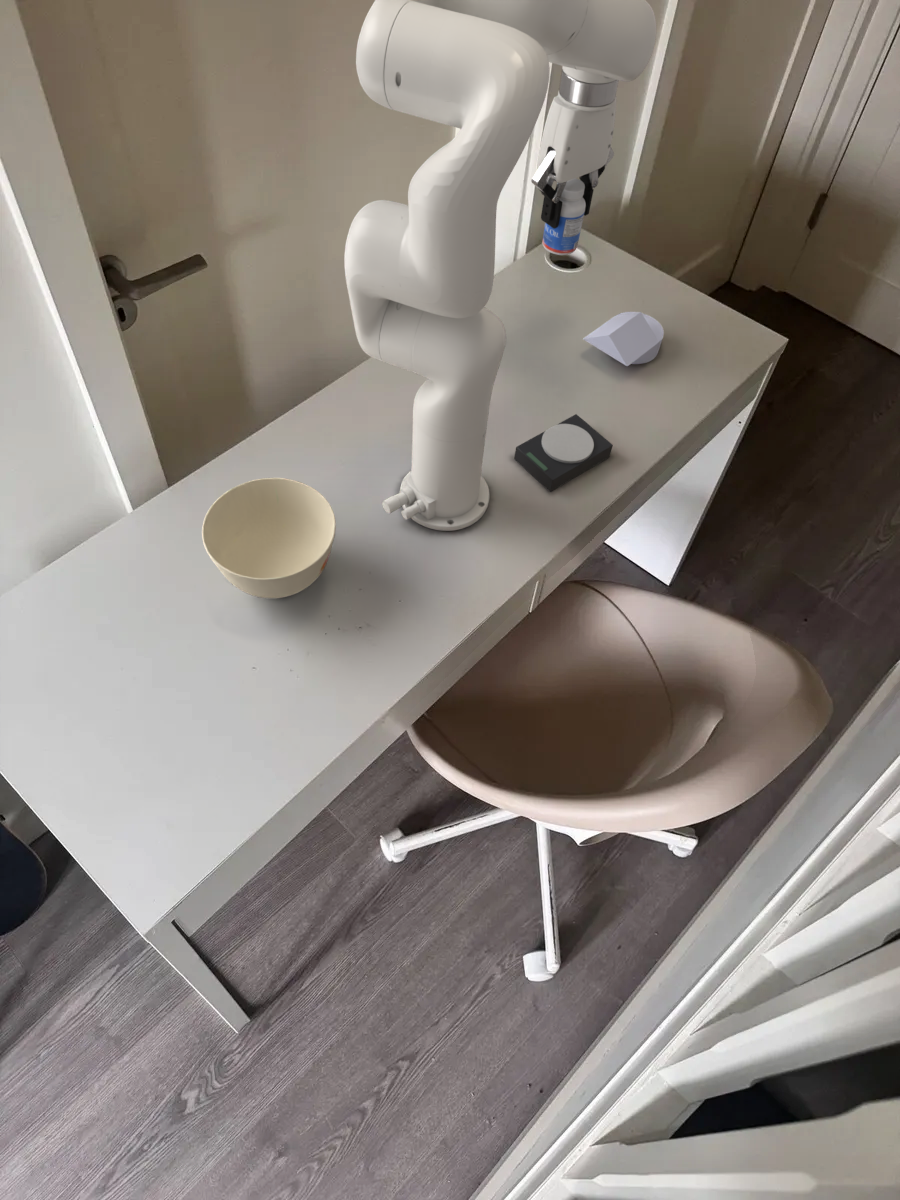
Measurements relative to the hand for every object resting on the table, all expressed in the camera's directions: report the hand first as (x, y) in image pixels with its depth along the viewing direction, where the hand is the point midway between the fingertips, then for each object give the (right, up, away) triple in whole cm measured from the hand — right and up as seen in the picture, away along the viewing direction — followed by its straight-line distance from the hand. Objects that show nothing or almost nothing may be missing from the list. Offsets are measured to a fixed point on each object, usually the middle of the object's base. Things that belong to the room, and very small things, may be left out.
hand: (564, 216), depth 126 cm
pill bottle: (0, -3, +4) cm, 5 cm away
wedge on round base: (+12, -16, +16) cm, 25 cm away
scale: (0, -36, +1) cm, 36 cm away
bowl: (-39, -53, -14) cm, 68 cm away
